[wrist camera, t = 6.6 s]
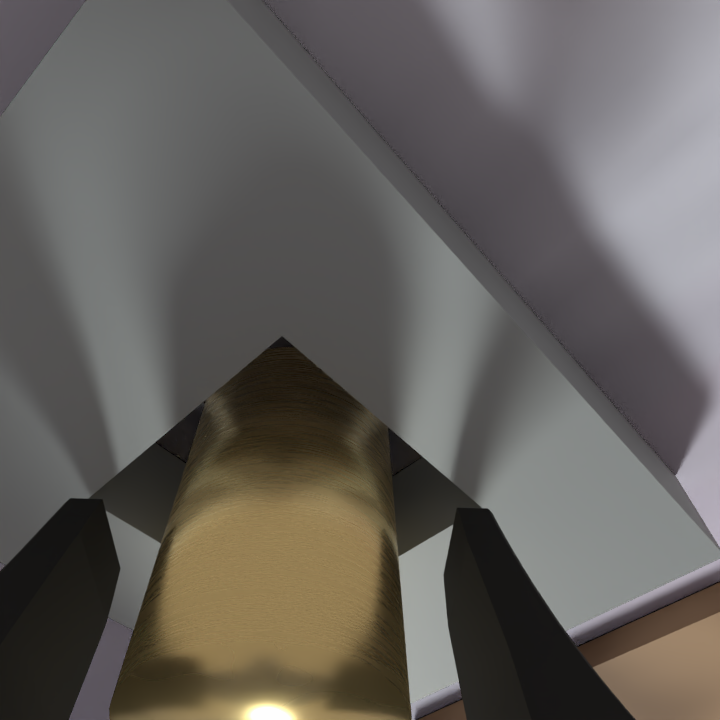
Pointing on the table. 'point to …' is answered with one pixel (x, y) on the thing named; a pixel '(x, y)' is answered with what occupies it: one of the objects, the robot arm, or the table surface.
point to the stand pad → (657, 662)
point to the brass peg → (275, 563)
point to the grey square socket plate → (286, 317)
